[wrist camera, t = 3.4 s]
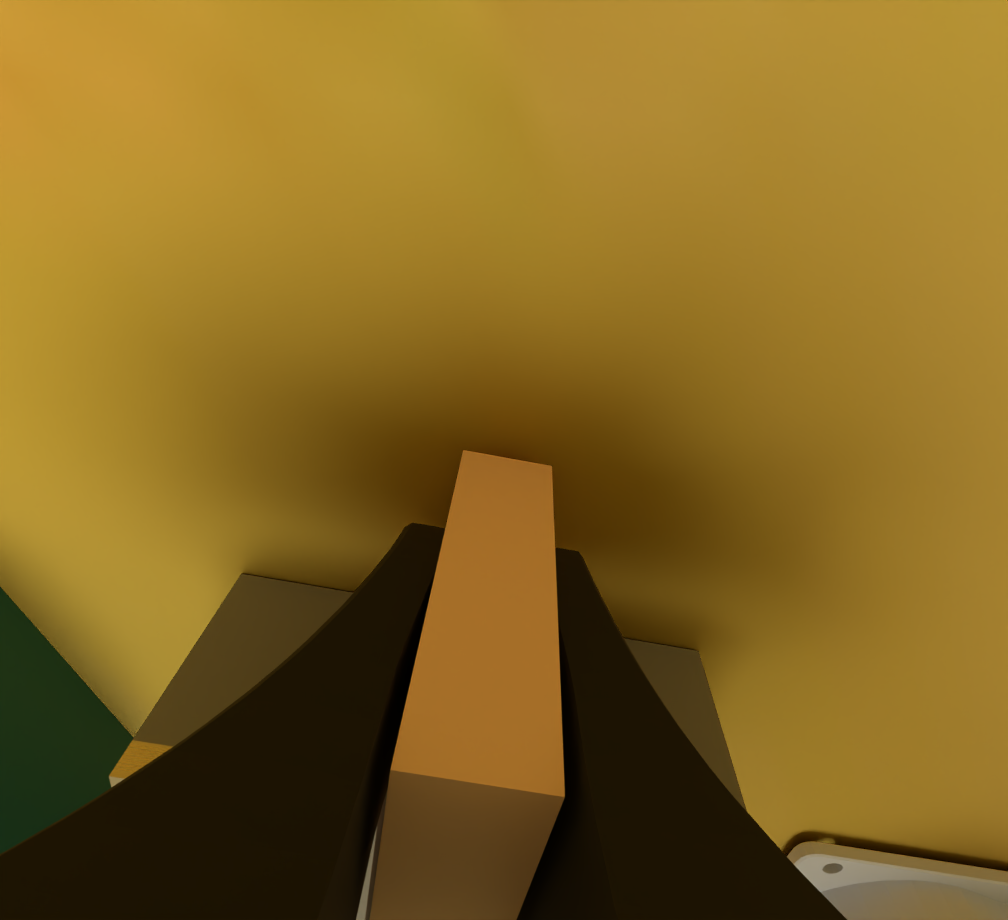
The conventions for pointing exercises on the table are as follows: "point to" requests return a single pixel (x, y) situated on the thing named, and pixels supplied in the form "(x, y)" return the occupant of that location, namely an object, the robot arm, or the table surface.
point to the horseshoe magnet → (297, 616)
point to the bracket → (47, 733)
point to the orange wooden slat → (479, 710)
